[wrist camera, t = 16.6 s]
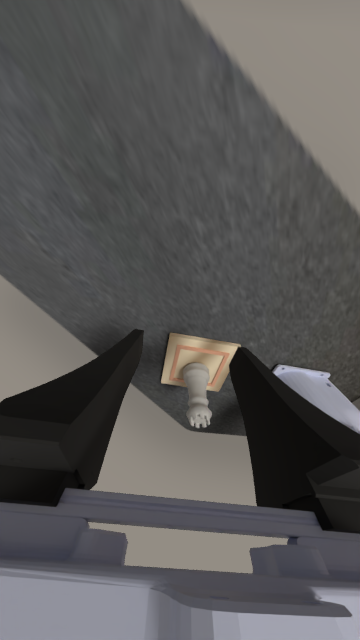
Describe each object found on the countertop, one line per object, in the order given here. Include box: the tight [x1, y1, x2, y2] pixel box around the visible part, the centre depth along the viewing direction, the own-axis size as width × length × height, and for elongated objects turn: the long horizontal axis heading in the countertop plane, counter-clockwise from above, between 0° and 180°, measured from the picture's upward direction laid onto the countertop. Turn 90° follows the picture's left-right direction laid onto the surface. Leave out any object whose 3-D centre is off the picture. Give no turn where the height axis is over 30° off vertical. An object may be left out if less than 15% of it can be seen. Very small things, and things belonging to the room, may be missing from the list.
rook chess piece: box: [183, 362, 212, 428], centre depth 21 cm, size 4×4×8 cm
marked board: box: [161, 332, 241, 392], centre depth 24 cm, size 11×11×1 cm
